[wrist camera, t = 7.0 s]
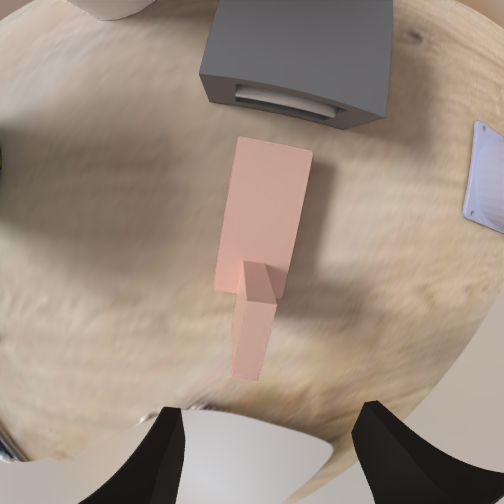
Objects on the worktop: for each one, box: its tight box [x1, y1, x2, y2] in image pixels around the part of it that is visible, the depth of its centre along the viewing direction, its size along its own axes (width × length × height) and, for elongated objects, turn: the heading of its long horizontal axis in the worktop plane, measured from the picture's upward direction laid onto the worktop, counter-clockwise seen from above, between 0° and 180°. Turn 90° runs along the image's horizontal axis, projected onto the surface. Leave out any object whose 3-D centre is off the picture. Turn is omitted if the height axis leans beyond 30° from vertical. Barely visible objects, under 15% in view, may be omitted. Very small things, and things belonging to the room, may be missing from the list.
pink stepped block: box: [213, 136, 313, 381], centre depth 13 cm, size 4×10×5 cm, turn 170°
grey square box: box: [199, 0, 393, 130], centre depth 12 cm, size 8×8×5 cm
